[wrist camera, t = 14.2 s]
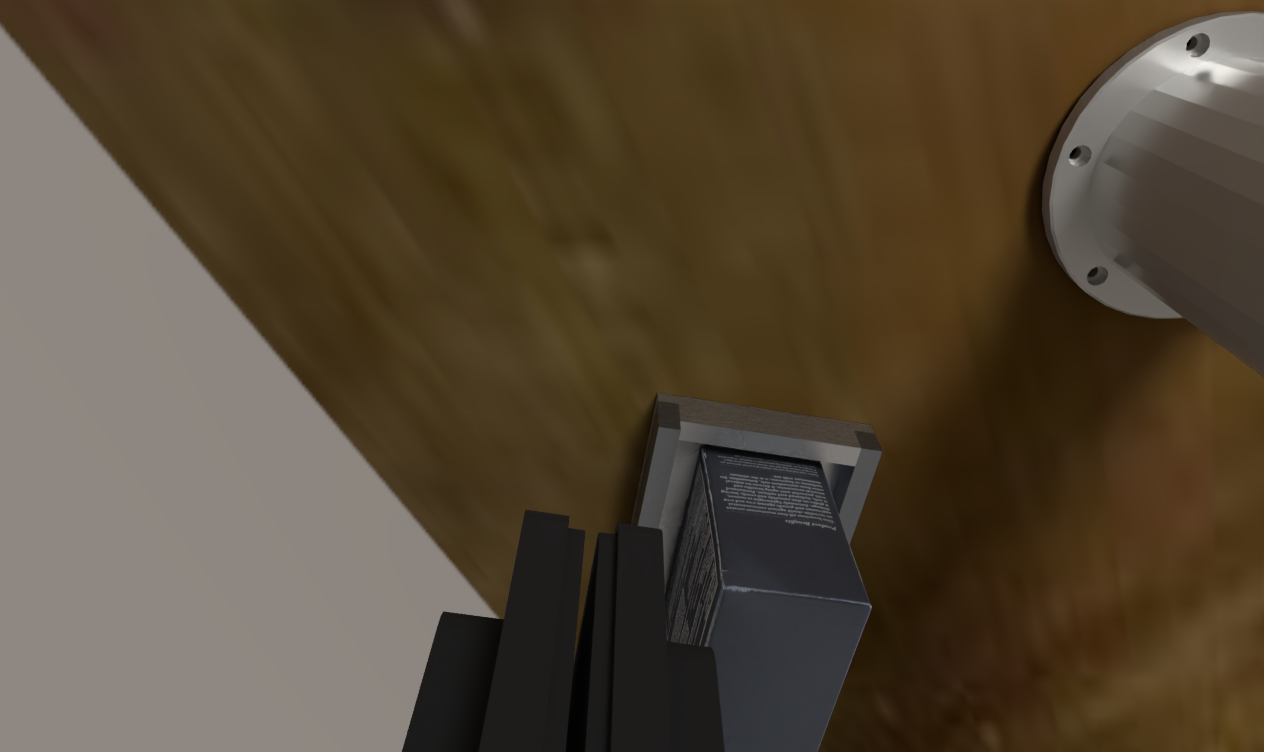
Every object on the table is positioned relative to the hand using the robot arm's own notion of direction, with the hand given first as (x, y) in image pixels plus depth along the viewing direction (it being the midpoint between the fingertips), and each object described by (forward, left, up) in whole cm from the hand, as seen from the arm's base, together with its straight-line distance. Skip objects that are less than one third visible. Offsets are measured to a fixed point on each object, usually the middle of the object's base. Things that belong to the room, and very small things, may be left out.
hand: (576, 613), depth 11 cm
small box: (-9, +19, -28) cm, 36 cm away
